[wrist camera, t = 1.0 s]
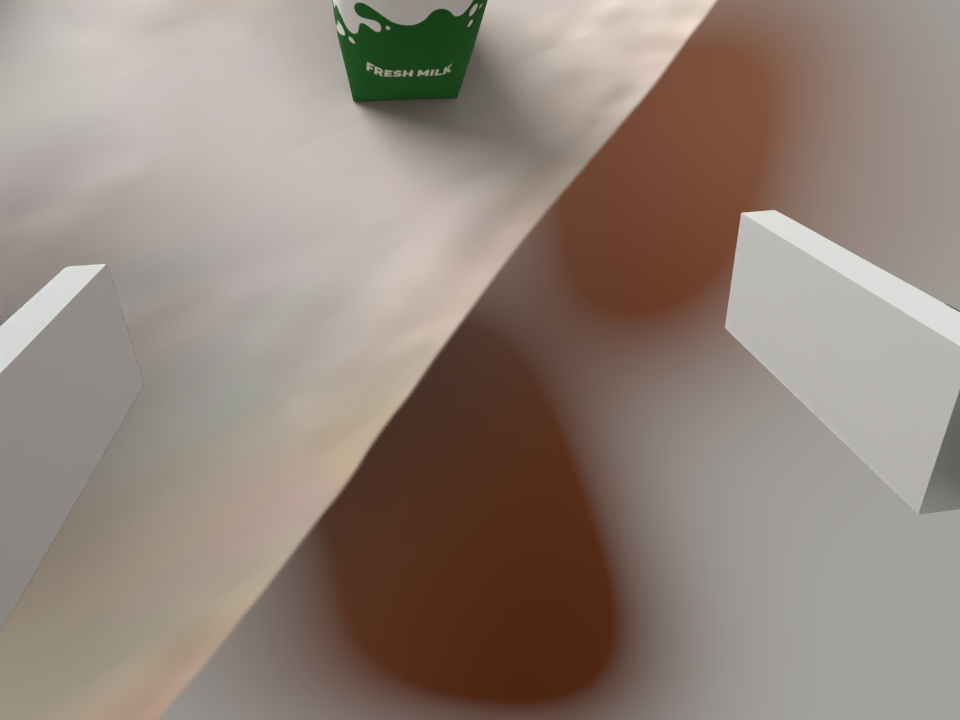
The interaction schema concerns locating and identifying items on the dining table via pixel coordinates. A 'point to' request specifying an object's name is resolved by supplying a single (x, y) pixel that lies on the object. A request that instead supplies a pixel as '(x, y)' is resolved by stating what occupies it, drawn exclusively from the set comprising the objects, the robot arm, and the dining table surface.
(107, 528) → the dining table surface
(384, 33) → the fresh milk carton
